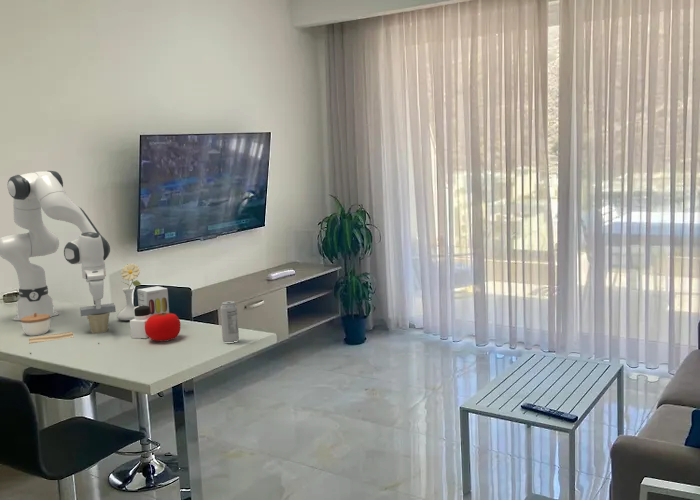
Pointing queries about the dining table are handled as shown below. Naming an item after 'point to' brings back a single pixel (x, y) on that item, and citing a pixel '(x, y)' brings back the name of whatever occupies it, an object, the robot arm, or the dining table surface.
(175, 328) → the tomato
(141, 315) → the medicine bottle
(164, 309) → the supplement box
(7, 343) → the dining table surface
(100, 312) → the slate tile
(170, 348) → the dining table surface
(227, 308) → the energy drink can
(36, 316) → the lidded jar
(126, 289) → the flower in vase
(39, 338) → the wooden board
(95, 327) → the flower pot
